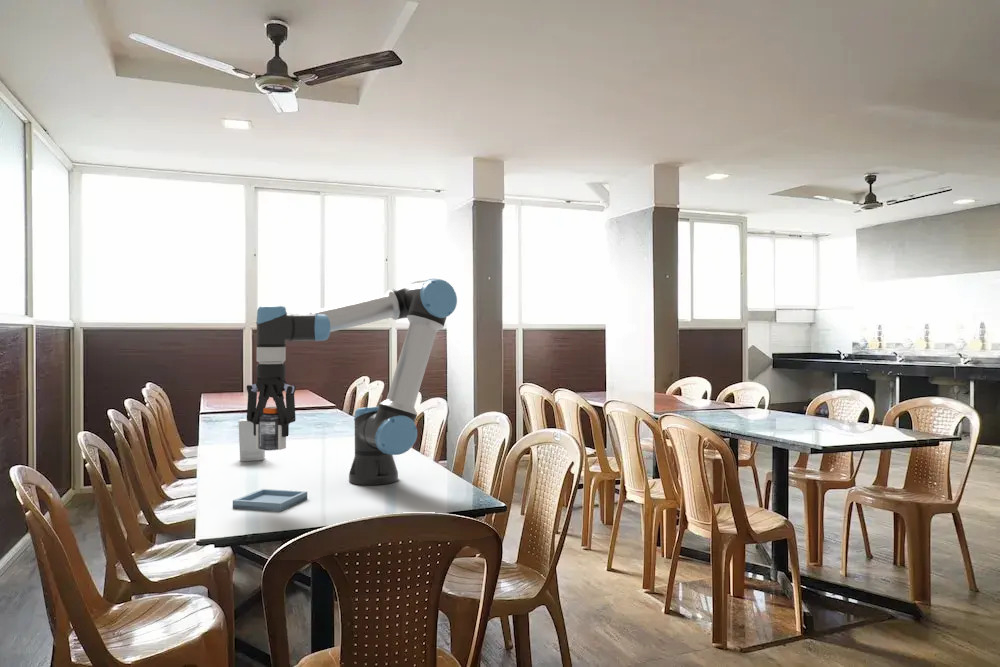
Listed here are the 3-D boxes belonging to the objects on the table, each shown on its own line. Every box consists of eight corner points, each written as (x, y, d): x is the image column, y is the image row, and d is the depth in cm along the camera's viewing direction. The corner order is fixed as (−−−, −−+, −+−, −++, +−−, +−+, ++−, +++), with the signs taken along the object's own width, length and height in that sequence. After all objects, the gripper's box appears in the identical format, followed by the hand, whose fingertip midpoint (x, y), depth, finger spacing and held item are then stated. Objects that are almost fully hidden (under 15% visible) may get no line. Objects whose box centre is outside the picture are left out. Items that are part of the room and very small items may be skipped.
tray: (307, 498, 197) (307, 491, 197) (280, 511, 183) (280, 503, 183) (262, 495, 200) (262, 488, 200) (232, 508, 187) (232, 500, 187)
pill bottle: (274, 446, 196) (274, 405, 196) (286, 449, 192) (287, 407, 192) (255, 449, 191) (255, 407, 191) (267, 451, 188) (267, 409, 187)
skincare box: (264, 457, 260) (264, 417, 260) (263, 460, 254) (263, 419, 254) (240, 458, 258) (240, 417, 258) (238, 461, 252) (238, 420, 252)
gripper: (309, 362, 193) (309, 447, 193) (248, 361, 197) (247, 444, 198) (295, 364, 186) (295, 452, 186) (231, 363, 190) (231, 449, 190)
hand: (270, 448), depth 192 cm, fingers closed on pill bottle, 6 cm apart
